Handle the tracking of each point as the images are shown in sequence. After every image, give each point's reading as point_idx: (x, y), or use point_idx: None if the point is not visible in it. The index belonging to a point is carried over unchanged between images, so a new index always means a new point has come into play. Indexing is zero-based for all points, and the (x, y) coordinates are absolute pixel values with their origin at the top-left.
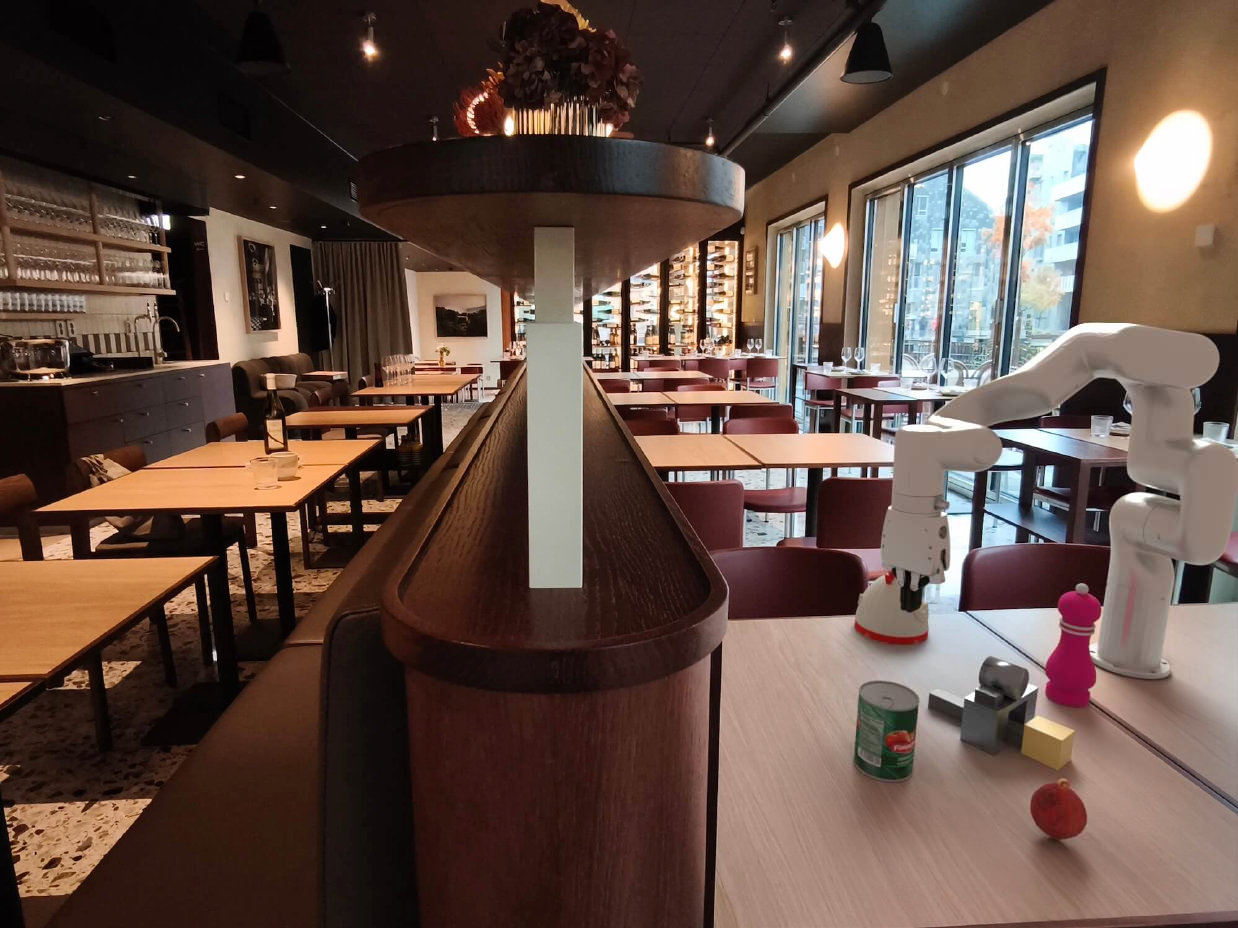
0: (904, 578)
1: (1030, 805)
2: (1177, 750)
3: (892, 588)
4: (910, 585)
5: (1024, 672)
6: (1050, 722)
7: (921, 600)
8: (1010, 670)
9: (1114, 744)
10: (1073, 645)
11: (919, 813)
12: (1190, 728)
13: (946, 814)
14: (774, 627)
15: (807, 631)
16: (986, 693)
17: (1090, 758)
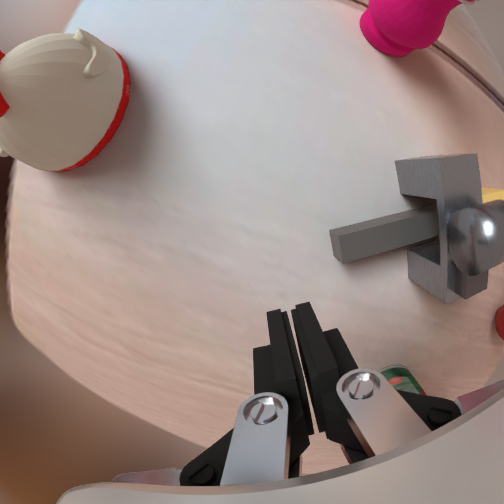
0: (300, 476)
1: (501, 337)
2: (484, 70)
3: (19, 106)
4: (343, 450)
5: None
6: (490, 198)
7: (343, 341)
8: None
9: (472, 107)
10: (451, 9)
11: (433, 389)
12: (456, 16)
13: (446, 371)
14: (28, 298)
15: (40, 259)
16: (477, 292)
17: (481, 162)
